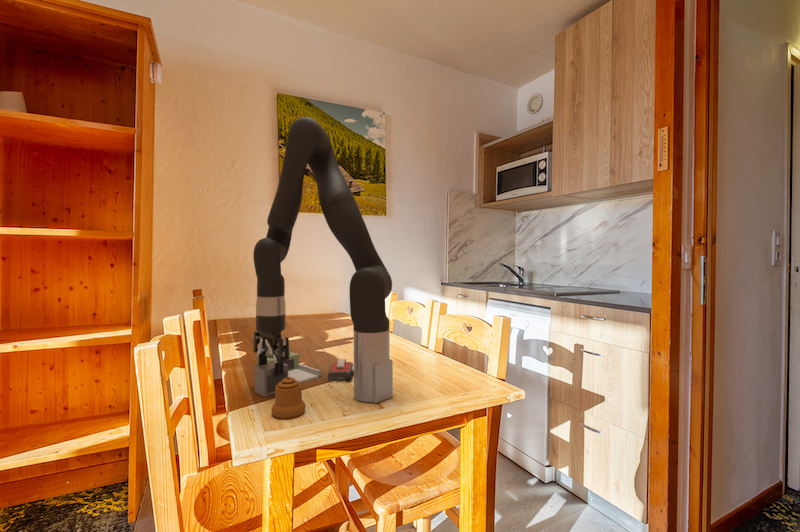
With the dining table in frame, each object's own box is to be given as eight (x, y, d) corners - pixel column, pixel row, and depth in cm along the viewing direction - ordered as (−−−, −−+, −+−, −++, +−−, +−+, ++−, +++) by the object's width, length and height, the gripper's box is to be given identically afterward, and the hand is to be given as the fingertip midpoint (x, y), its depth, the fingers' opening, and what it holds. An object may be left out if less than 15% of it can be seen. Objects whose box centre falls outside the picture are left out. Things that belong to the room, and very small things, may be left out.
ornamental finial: (277, 407, 93) (308, 406, 93) (267, 420, 85) (301, 419, 85) (276, 374, 93) (308, 373, 93) (266, 384, 85) (300, 384, 85)
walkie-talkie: (357, 384, 110) (361, 364, 130) (357, 368, 110) (361, 351, 130) (326, 384, 110) (335, 364, 130) (326, 369, 110) (335, 351, 130)
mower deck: (322, 376, 116) (322, 351, 116) (288, 386, 107) (288, 359, 107) (287, 364, 129) (287, 342, 128) (254, 372, 120) (254, 349, 120)
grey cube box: (288, 390, 104) (288, 364, 104) (264, 397, 99) (264, 370, 99) (278, 386, 108) (278, 361, 108) (254, 393, 102) (254, 366, 102)
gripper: (297, 314, 101) (297, 375, 102) (270, 308, 111) (269, 364, 111) (271, 317, 96) (271, 382, 96) (244, 311, 105) (244, 370, 106)
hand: (270, 372), depth 104 cm, fingers open, 8 cm apart
